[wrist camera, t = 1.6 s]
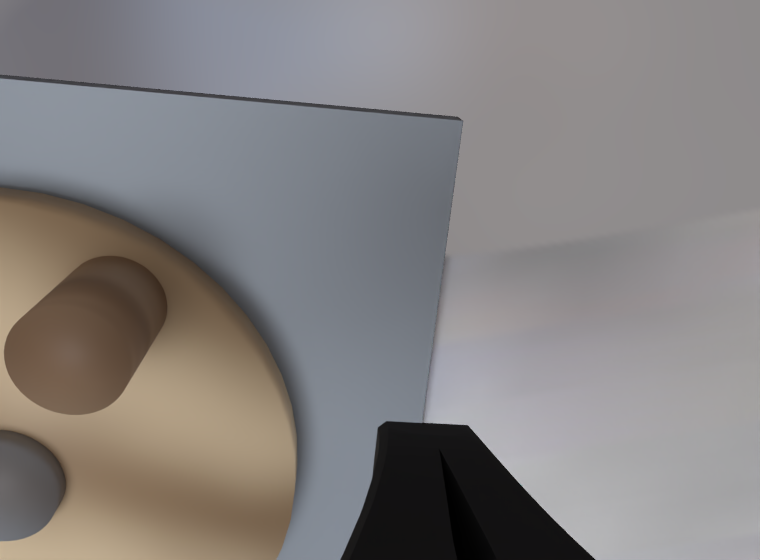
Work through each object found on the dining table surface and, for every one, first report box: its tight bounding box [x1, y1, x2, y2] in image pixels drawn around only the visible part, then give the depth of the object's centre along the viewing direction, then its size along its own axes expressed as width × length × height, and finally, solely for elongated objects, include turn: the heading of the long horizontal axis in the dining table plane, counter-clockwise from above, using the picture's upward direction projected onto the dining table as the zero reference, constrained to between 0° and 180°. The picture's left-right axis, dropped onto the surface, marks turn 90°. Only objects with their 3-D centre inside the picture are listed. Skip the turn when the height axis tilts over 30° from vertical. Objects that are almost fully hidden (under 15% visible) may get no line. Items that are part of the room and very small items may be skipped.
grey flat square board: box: [0, 75, 463, 560], centre depth 19 cm, size 20×22×1 cm
